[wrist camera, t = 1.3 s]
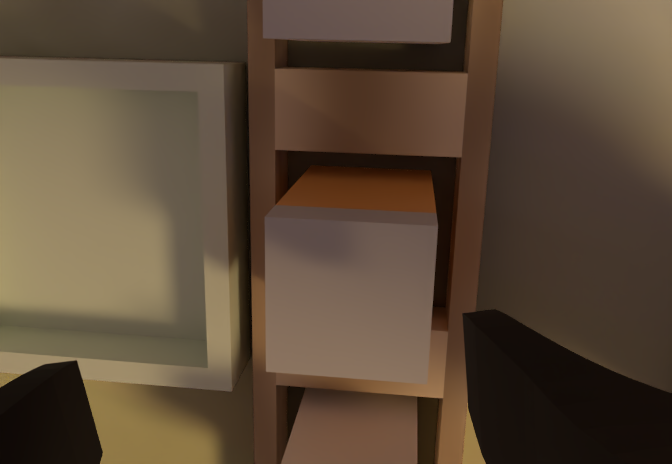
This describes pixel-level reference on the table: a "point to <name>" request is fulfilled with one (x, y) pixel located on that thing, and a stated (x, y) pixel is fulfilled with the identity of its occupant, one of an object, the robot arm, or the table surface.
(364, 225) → the block
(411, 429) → the block
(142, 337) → the tray
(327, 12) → the white fuse
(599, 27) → the table surface
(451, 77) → the rack
